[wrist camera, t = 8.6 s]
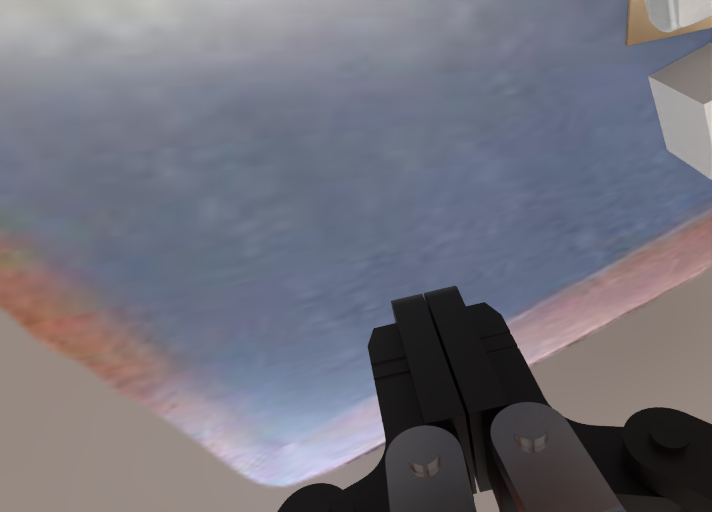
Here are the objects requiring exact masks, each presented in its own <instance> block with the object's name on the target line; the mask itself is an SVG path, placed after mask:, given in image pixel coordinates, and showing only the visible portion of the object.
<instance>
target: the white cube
mask: <svg viewBox="0 0 712 512" xmlns="http://www.w3.org/2000/svg"><path fill="white" fill-rule="evenodd" d="M648 77H649V81H650V85H651V89H652V93H653V97H654V100H655V104H656V108H657V112H658V116H659V120H660V124H661V128H662V132H663V135H664V139H665V143H666V147H667V150H668V151H670V152H671V153H673V154H674V155H676V156H677V157H679V158H680V159H682V160H683V161H685V162H686V163H688V164H689V165H690V166H692V167H693V168H695V169H696V170H698V171H699V172H701V173H702V174H704V175H705V176H707V177H708V178H710V179H711V180H712V42H710V43H709V44H707V45H705V46H703V47H701V48H699V49H698V50H696V51H694V52H692V53H690V54H688V55H686V56H685V57H683V58H681V59H679V60H677V61H675V62H673V63H672V64H670V65H668V66H666V67H664V68H662V69H660V70H659V71H657V72H655V73H653V74H651V75H649V76H648Z"/></svg>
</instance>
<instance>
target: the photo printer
mask: <svg viewBox="0 0 712 512" xmlns="http://www.w3.org/2000/svg"><path fill="white" fill-rule="evenodd" d="M644 1H645V5H646V9H647V12H648V17H649V20H650V22H651V23H652V24H653V25H654V26H655V27H656V28H657V29H659V30H661V31H663V32H672V31H675V30H677V29H679V28H681V27H686V26H688V25H691V24H694V23H696V22H699V21H701V20H703V19H705V18H707V17H709V16H712V0H644Z"/></svg>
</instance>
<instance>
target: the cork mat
mask: <svg viewBox="0 0 712 512" xmlns="http://www.w3.org/2000/svg"><path fill="white" fill-rule="evenodd" d="M708 28H712V16H709V17H707V18H705V19H703V20H701V21H699V22H696V23H694V24H691V25H688V26H686V27H681V28H679V29H677V30H675V31H672V32H663V31H661V30H659V29H657V28H656V27H655V26H654V25H653V24H652V23H651V22H650V20H649V17H648V12H647V9H646V5H645V1H644V0H629V7H628V20H627V34H626V45H627V46H629V45H633V44H638V43H643V42H647V41H652V40H657V39H661V38H666V37H671V36H675V35H680V34H685V33H689V32H694V31H699V30H703V29H708Z"/></svg>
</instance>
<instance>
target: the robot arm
mask: <svg viewBox="0 0 712 512" xmlns="http://www.w3.org/2000/svg"><path fill="white" fill-rule="evenodd" d="M424 297H425V300H424ZM424 297H423V295H422V294H419V295H414V296H410V297H406V298H402V299H397V300H393V301H391V304H392V309H393V313H394V318H395V322H396V323H395V324H390V325H386V326H382V327H378V328H374V329H373V332H372V335H371V338H370V341H369V344H368V350H369V355H370V360H371V365H372V371H373V376H374V380H375V386H376V391H377V396H378V401H379V406H380V411H381V416H382V422H383V427H384V432H385V438H386V445H385V451H384V454H383V456H382V459H381V460H380V462H379V464H378V465H377V466H376V467H375V469H374V470H373V471H372V472H371V473H369V474H368V475H367V476H366V477H364V478H363V479H361V480H360V481H358V482H356V483H354V484H353V485H351V486H349V487H347V488H346V489H344V490H342V489H340V488H339V487H337V486H334V485H331V484H326V483H317V484H312V485H308V486H306V487H303V488H301V489H299V490H297V491H296V492H295V493H293V494H292V495H291V496H290V497H289V498H287V500H286V501H285V502H284V503H283V504H282V506H281V507H280V509H279V510H278V512H476V507H475V503H474V497H473V494H475V493H477V491H476V484H475V478H476V481H477V484H478V487H479V490H480V492H483V491H487V490H493V493H494V495H495V498H496V501H497V504H498V507H499V511H500V512H712V424H710V423H707V422H705V421H703V420H701V419H698V418H696V417H694V416H691V415H689V414H687V413H684V412H681V411H679V410H675V409H670V408H662V407H661V408H657V407H655V408H648V409H644V410H641V411H639V412H636V413H635V414H633V415H632V416H631V417H630V418H629V419H628V420H627V422H626V423H625V426H624V427H614V426H613V427H612V426H594V425H586V424H581V423H577V422H574V421H572V420H569V419H567V418H565V417H564V416H562V415H561V414H560V413H559V412H558V411H556V410H555V409H553V408H552V407H551V406H550V405H549V404H548V403H547V401H546V399H545V398H544V396H543V394H542V392H541V390H540V388H539V386H538V384H537V382H536V381H535V378H534V377H533V375H532V373H531V371H530V369H529V367H528V365H527V363H526V361H525V359H524V357H523V355H522V353H521V352H520V350H519V349H518V347H517V344H516V342H515V340H514V338H513V336H512V335H511V334H510V330H509V328H508V327H507V325H506V323H505V321H504V319H503V317H502V315H501V314H500V313H498V312H497V311H496V310H494V309H493V308H492V307H490V306H489V305H488V304H486V303H485V302H484V303H479V304H475V305H471V306H467V307H466V306H465V304H464V302H463V299H462V297H461V295H460V293H459V290H458V288H457V287H456V286H452V287H448V288H443V289H439V290H435V291H431V292H426V293H424ZM474 475H475V477H474Z"/></svg>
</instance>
